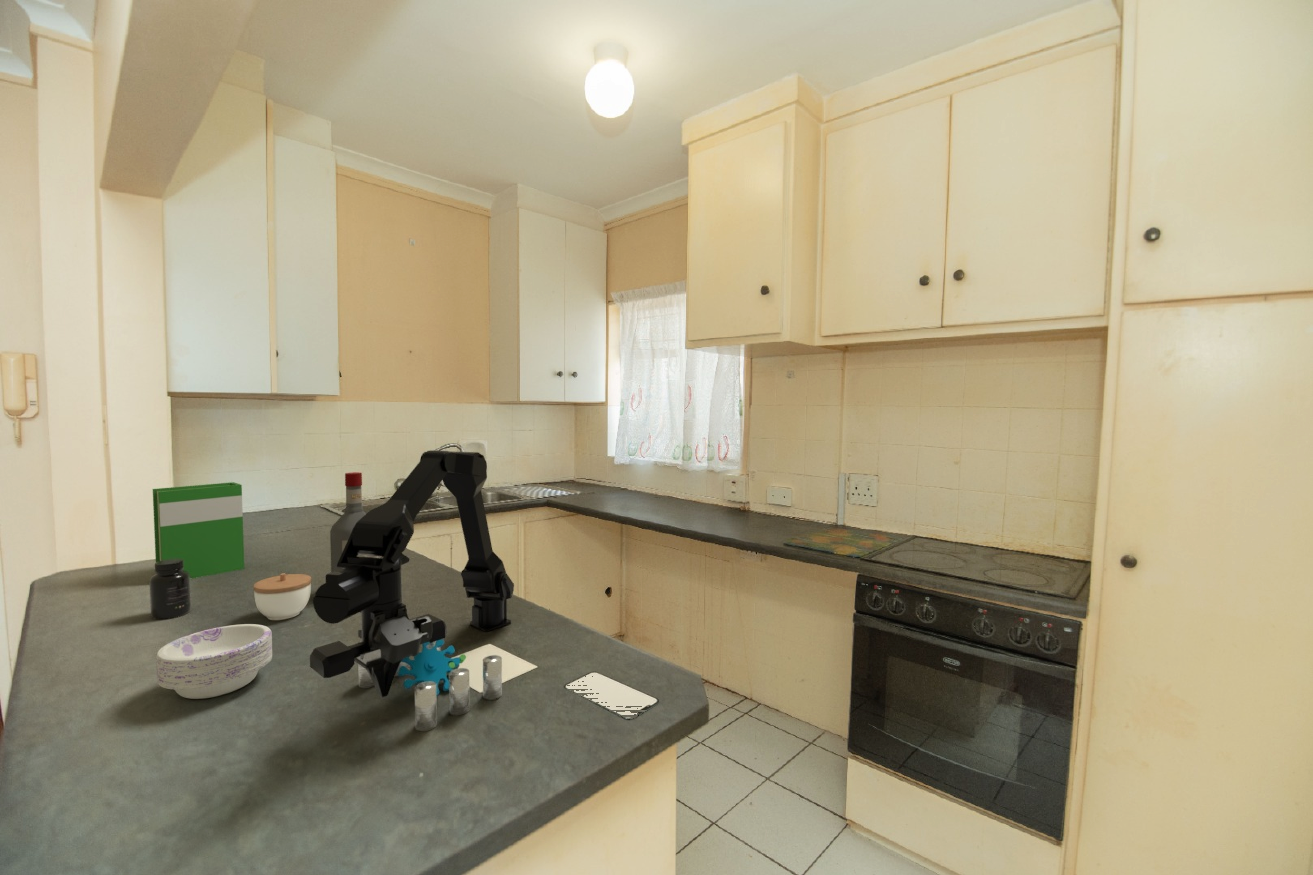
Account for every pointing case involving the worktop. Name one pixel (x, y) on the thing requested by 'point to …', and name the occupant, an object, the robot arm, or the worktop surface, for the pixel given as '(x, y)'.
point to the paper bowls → (214, 660)
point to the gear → (431, 665)
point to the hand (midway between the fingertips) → (383, 695)
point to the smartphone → (612, 693)
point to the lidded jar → (282, 595)
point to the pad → (510, 665)
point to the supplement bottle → (170, 590)
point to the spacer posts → (457, 690)
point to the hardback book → (200, 527)
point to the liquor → (347, 519)
